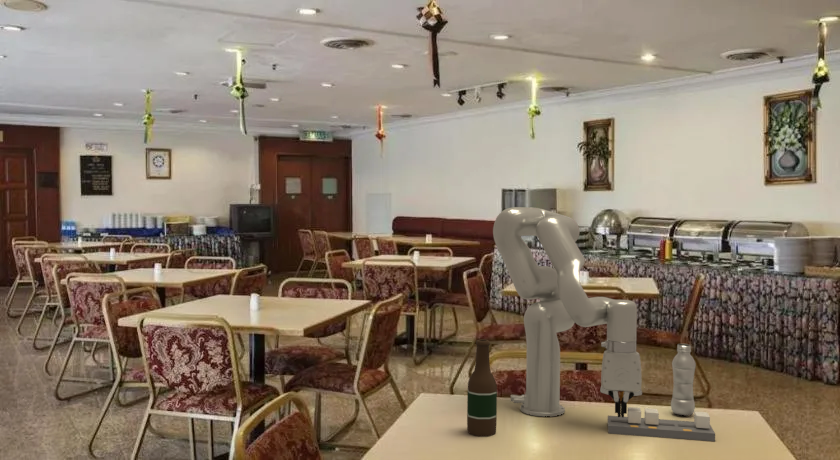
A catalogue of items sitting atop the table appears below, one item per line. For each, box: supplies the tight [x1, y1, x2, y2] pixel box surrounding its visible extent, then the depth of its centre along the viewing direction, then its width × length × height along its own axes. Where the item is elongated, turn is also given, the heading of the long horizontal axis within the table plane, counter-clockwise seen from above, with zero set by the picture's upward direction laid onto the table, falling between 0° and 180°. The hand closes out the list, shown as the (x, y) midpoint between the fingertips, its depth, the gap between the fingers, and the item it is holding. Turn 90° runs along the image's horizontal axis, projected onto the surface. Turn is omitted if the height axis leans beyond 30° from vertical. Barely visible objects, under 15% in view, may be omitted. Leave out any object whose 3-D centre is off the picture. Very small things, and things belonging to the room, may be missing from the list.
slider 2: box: [643, 407, 660, 425], centre depth 194 cm, size 3×4×3 cm
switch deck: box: [607, 415, 716, 442], centre depth 194 cm, size 26×10×2 cm, turn 77°
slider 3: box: [693, 411, 711, 429], centre depth 192 cm, size 3×4×3 cm
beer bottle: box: [466, 338, 498, 437], centre depth 191 cm, size 8×8×24 cm
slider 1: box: [626, 406, 642, 424], centre depth 195 cm, size 3×4×3 cm
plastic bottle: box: [670, 343, 696, 417], centre depth 211 cm, size 6×7×20 cm
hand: (620, 415), depth 196 cm, fingers closed
